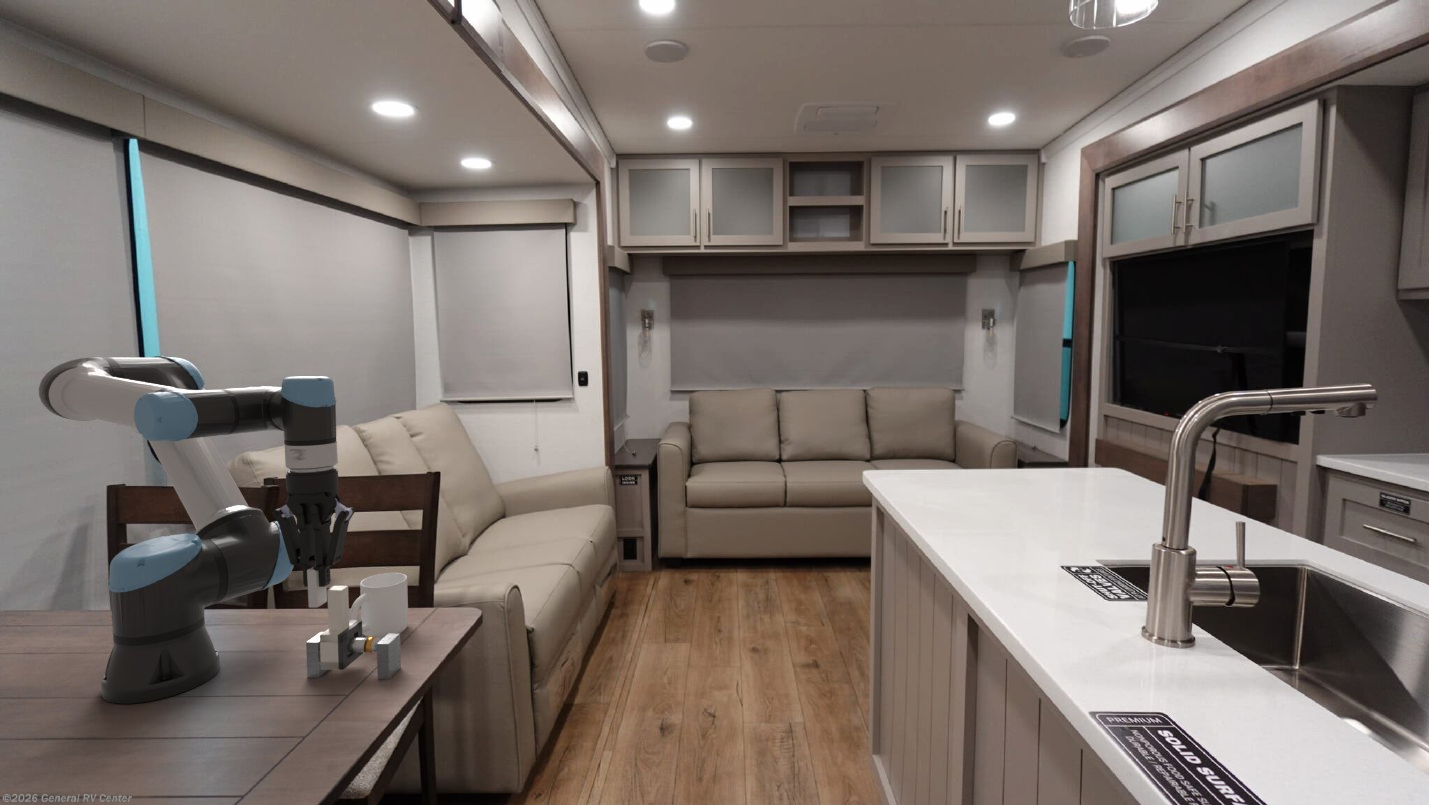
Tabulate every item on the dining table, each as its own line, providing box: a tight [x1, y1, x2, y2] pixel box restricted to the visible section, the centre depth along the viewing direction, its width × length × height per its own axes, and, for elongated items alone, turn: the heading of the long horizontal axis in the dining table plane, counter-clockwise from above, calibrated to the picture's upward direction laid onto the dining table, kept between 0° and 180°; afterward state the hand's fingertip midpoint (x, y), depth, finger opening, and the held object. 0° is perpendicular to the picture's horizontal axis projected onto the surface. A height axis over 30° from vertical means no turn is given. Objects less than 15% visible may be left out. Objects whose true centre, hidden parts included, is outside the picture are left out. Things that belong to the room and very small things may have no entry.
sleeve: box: [320, 585, 364, 671], centre depth 113 cm, size 4×6×13 cm, turn 179°
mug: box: [349, 572, 409, 638], centre depth 128 cm, size 12×8×10 cm
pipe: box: [305, 631, 402, 680], centre depth 113 cm, size 14×4×6 cm, turn 89°
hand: (318, 604), depth 112 cm, fingers closed
